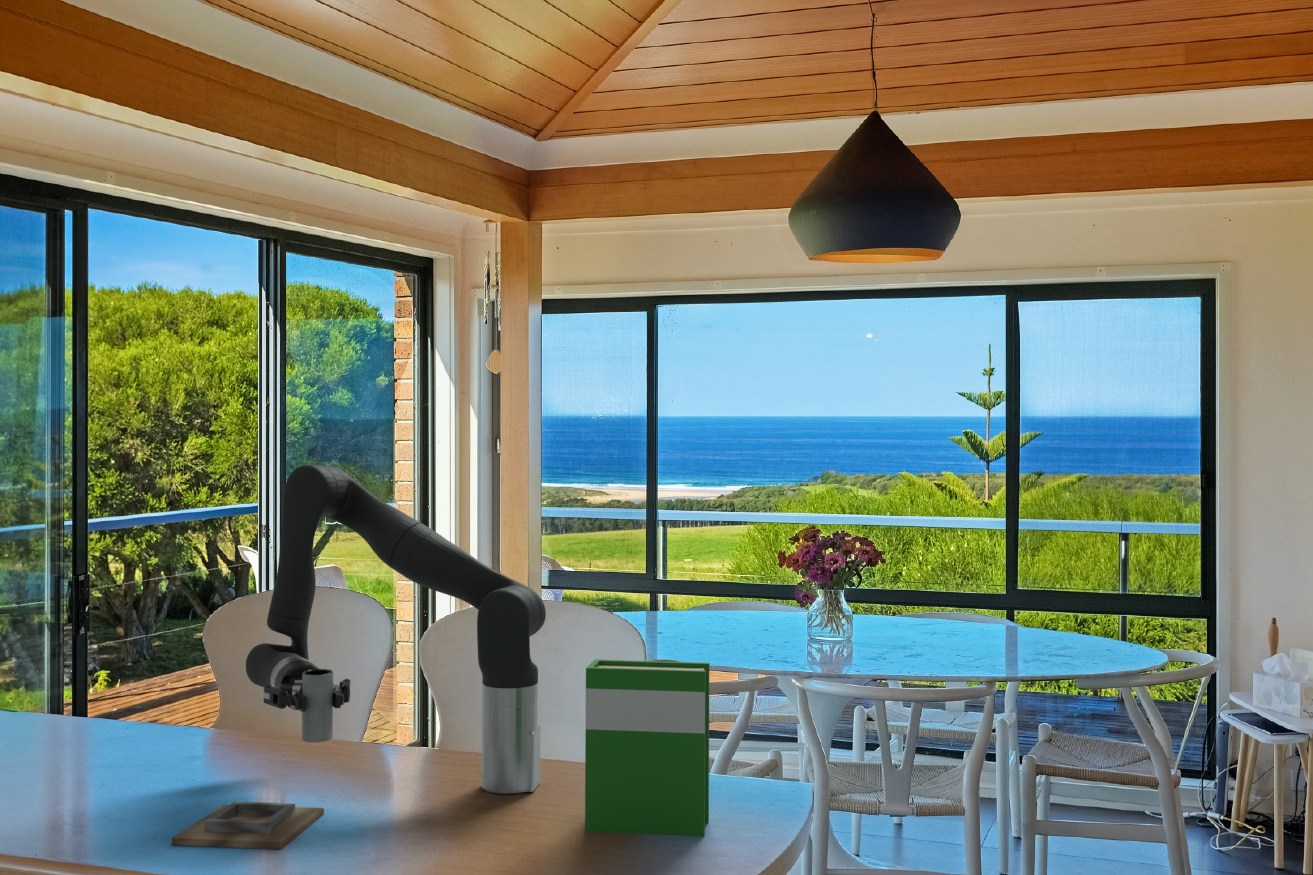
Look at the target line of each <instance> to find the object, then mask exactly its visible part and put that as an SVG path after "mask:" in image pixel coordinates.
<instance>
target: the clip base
mask: <svg viewBox="0 0 1313 875" xmlns="http://www.w3.org/2000/svg"><path fill="white" fill-rule="evenodd" d="M324 814H325V808H324V807H306V806H303V807H302V806H296V803H289V802H288V803H284V802H283V803H282V802H281V803H280V802H259V801H258V802H257V801H256V802H255V801H254V802H253V801H233V802H232V803H229V804H222V805H221V806H220V807H218V808H216V809H215V810H213V811H211V812H210V813H208V814H206V815H205V816H203V817H202V818H201V819H199V820H197V821H196V822H194V823H193V824H191V825H189V826H188V827H187V828H185V829H183V830H182V831H180V832H178V833H177V834H176V835H174V836H173V837H171V846H186V847H187V846H191V847H216V848H241V849H242V848H245V849H269V850H270V849H271V850H283V848H284V847H286V846H287V845H288V844H289V843H291V842H292V841H293V840H294V839H296V838H297V837H298V836H299V835H301V833H303V832H304V831H306V830H307V829H308V828H309V827H310V826H311V825H313V824H314V823H315V822H316V821H318V820H319V819H320V818H321V817H323V816H324Z"/></svg>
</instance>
